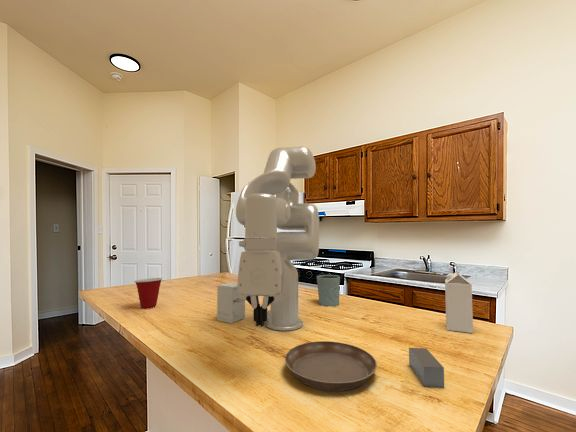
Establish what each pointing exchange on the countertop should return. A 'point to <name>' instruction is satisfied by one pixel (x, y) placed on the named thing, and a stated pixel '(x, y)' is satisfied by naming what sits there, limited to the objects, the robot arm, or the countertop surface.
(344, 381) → the plant saucer
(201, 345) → the countertop surface
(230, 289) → the supplement box
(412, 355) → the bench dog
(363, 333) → the countertop surface
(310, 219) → the robot arm
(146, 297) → the plastic cup
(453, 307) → the milk carton
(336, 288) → the grey green tapered pot
